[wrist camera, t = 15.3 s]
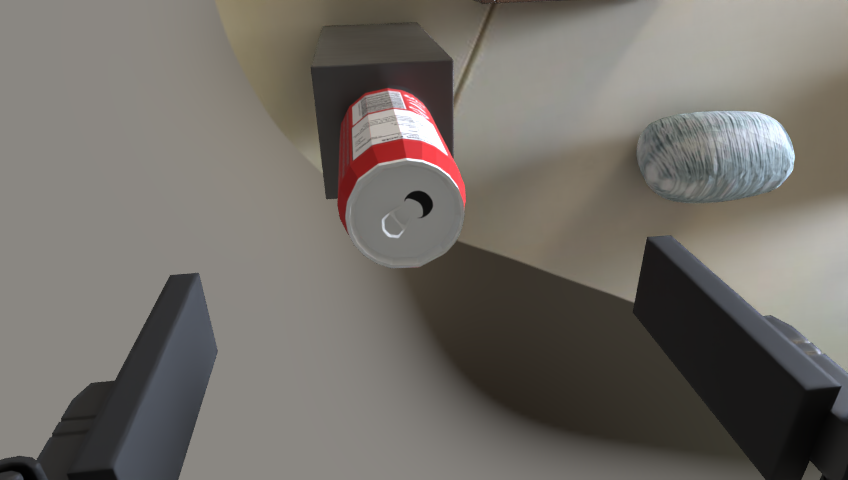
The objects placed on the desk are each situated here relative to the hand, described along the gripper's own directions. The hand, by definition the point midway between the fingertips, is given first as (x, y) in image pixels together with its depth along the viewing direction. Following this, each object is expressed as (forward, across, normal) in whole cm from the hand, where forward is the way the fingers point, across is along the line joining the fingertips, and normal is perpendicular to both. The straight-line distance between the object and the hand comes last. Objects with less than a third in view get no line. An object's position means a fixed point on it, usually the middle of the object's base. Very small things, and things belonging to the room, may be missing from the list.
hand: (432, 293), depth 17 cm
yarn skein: (+36, +31, -9) cm, 49 cm away
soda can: (+19, 0, -1) cm, 19 cm away
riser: (+37, 0, -1) cm, 37 cm away
